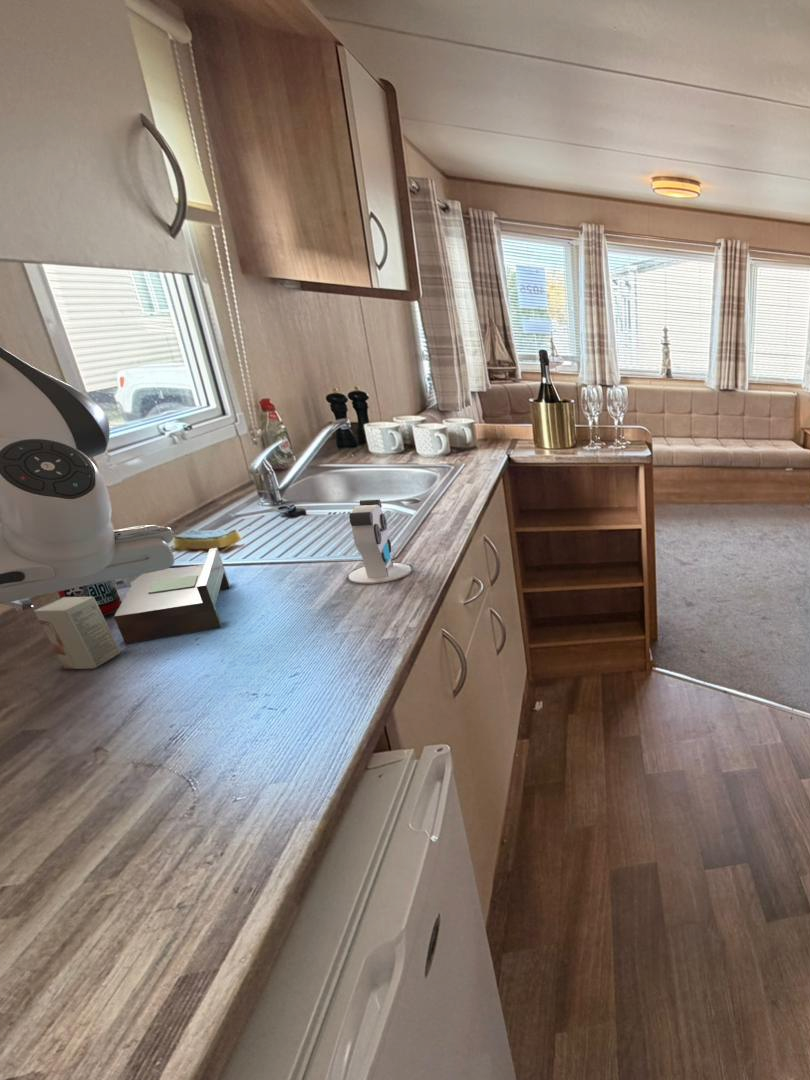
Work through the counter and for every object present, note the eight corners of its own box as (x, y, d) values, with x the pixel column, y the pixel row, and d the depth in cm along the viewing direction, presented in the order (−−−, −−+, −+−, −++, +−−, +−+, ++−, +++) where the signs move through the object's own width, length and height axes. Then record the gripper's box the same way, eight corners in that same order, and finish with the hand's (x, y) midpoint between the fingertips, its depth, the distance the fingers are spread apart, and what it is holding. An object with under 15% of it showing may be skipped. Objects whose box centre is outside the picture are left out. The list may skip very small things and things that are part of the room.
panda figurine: (406, 581, 132) (391, 512, 126) (342, 587, 128) (323, 515, 122) (414, 562, 143) (400, 497, 136) (355, 566, 139) (338, 499, 132)
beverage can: (88, 623, 110) (59, 558, 105) (59, 617, 111) (29, 553, 106) (134, 607, 116) (108, 545, 111) (106, 602, 117) (79, 541, 112)
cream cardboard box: (91, 653, 101) (65, 595, 97) (122, 653, 101) (97, 595, 97) (60, 670, 96) (31, 610, 92) (92, 669, 97) (64, 609, 93)
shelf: (125, 644, 104) (106, 599, 101) (147, 597, 120) (131, 557, 117) (221, 627, 111) (206, 585, 108) (230, 585, 127) (217, 547, 124)
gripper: (161, 504, 87) (162, 556, 96) (-81, 540, 71) (-53, 598, 80) (184, 542, 87) (183, 590, 95) (-54, 586, 71) (-29, 639, 80)
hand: (73, 594), depth 88 cm, fingers open, 8 cm apart
